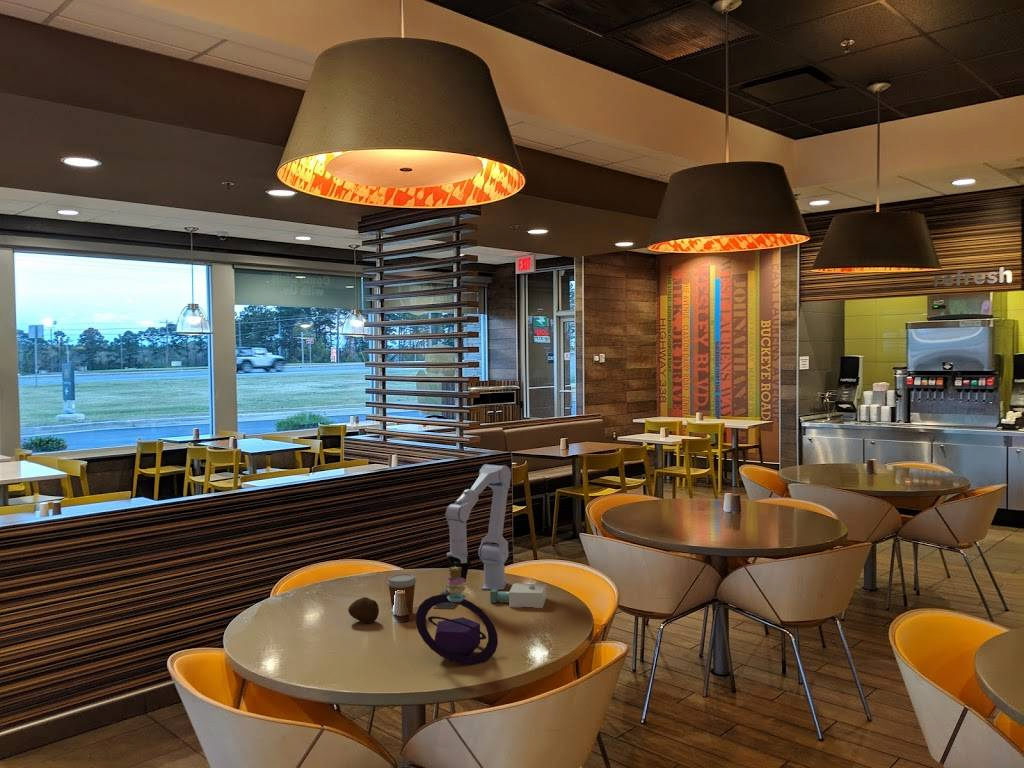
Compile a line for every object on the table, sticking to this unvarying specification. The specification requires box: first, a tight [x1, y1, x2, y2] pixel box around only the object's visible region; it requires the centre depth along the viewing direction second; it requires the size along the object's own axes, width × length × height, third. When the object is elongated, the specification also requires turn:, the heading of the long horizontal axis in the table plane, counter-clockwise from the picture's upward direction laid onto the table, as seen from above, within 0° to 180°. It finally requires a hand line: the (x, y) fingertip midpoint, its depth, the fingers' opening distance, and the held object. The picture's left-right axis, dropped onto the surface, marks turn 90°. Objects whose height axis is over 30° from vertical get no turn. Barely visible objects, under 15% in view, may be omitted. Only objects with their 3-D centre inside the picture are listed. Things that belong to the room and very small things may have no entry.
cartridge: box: [489, 589, 509, 604], centre depth 269 cm, size 3×15×4 cm, turn 81°
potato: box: [347, 596, 380, 624], centre depth 253 cm, size 7×10×8 cm
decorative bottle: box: [415, 566, 499, 666], centre depth 223 cm, size 22×21×25 cm
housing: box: [508, 582, 547, 609], centre depth 268 cm, size 10×11×6 cm
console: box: [432, 588, 461, 610], centre depth 272 cm, size 15×7×2 cm, turn 171°
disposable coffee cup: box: [386, 573, 417, 616], centre depth 260 cm, size 10×10×12 cm
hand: (459, 578), depth 269 cm, fingers open, 7 cm apart
